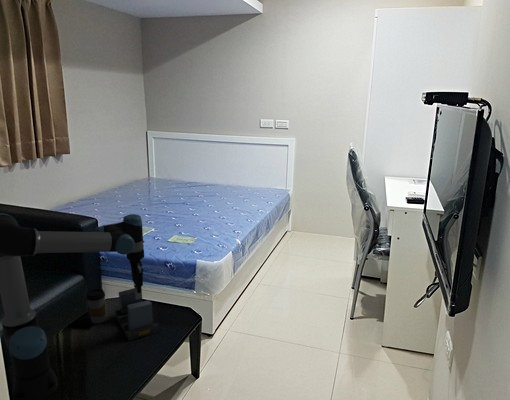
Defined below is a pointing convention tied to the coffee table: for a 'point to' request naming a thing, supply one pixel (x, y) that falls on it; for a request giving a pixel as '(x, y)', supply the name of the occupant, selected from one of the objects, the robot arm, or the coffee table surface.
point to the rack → (122, 316)
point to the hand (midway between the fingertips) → (138, 298)
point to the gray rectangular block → (139, 315)
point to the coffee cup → (96, 305)
